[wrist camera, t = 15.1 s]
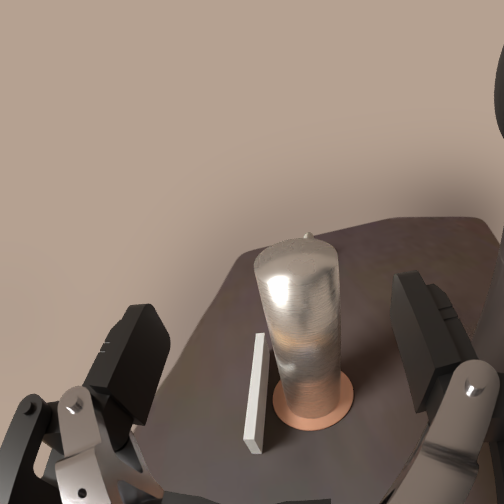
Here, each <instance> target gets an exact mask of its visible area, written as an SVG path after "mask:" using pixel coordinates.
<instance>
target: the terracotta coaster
mask: <svg viewBox="0 0 504 504" xmlns="http://www.w3.org/2000/svg"><path fill="white" fill-rule="evenodd" d="M352 402H353V387H352V384H351V382H350V380H349V378H348V377H347V376H346V375H345V374H344V373H343V372H342V371H341V386H340V400H339V403H338V405H337V406H336V408H335V409H334V410H333V411H332V412H331V413H329V414H328V415H326V416H324V417H321V418H317V419H305V418H301V417H299V416H297V415H295V414H294V413H293V412H292V411H291V410H290V409H289V407H288V406H287V402H286V398H285V394H284V390H283V386H282V382H281V380H280V381H279V382H278V384H277V385H276V387H275V390H274V393H273V406H274V409H275V412H276V414H277V415H278V417H279V418H280V419H281V420H282V421H283V422H284V423H285V424H287V425H289V426H290V427H293V428H295V429H299V430H304V431H316V430H322V429H325V428H328V427H330V426H332V425H334V424H336V423H337V422H339V421H340V420H341V419H342V418H343V417H344V416H345V415H346V414H347V412H348V411H349V409H350V407H351V405H352Z"/></svg>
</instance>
